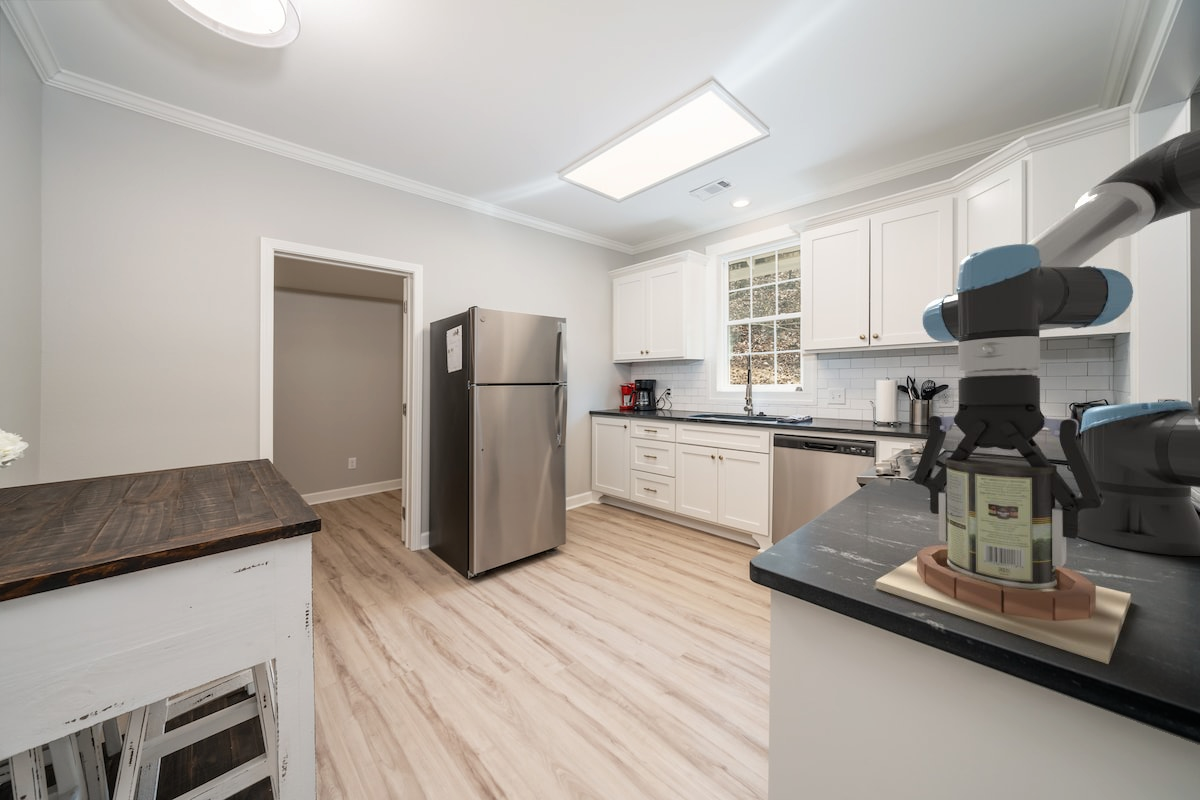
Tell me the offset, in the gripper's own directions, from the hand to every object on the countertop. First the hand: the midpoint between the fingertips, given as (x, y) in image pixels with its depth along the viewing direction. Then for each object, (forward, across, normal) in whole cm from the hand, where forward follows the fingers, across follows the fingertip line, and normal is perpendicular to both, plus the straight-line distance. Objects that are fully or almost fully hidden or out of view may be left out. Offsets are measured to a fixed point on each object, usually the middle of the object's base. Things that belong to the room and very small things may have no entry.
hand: (997, 550), depth 55 cm
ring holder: (+6, 0, 0) cm, 6 cm away
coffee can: (+3, 0, 0) cm, 3 cm away
